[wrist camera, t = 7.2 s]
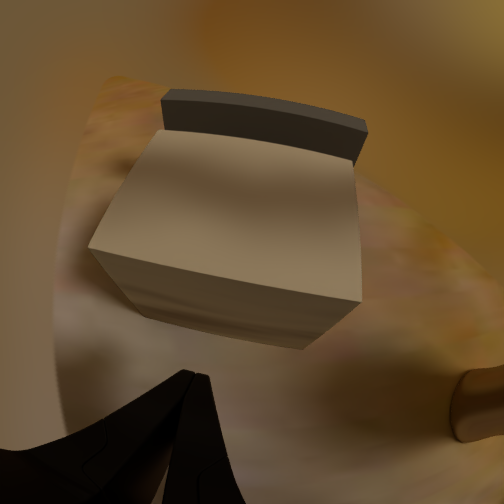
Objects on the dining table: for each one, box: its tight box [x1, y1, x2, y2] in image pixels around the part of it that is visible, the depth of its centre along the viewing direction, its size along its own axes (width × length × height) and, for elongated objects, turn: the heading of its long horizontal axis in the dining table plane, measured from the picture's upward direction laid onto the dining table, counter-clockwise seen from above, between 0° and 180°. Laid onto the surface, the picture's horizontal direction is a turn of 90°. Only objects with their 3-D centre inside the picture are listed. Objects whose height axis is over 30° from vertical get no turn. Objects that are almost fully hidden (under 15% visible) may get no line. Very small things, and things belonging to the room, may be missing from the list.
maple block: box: [88, 130, 362, 350], centre depth 14 cm, size 7×10×8 cm
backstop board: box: [161, 89, 368, 167], centre depth 17 cm, size 2×12×8 cm, turn 79°
